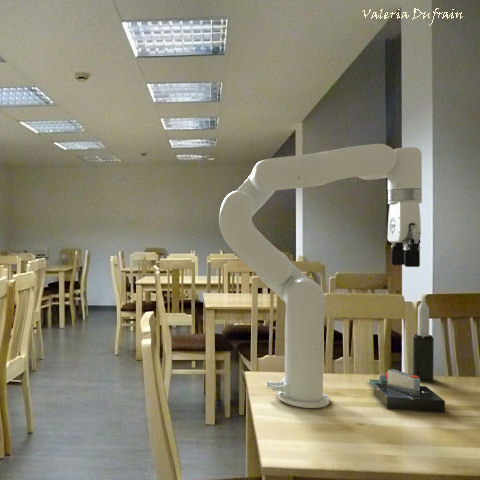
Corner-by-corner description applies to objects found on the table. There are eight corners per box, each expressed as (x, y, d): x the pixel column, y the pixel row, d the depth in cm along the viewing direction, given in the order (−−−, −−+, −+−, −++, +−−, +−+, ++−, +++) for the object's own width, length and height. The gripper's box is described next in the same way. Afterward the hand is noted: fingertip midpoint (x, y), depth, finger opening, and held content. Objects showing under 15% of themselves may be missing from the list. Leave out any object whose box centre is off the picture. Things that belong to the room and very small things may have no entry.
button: (387, 381, 123) (387, 375, 123) (383, 377, 126) (383, 371, 126) (401, 382, 122) (401, 375, 122) (397, 378, 125) (397, 372, 126)
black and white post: (412, 380, 132) (413, 296, 132) (414, 376, 136) (414, 295, 136) (432, 383, 129) (433, 298, 129) (433, 379, 133) (434, 296, 133)
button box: (377, 392, 121) (378, 381, 121) (369, 383, 129) (369, 373, 129) (417, 395, 119) (417, 384, 119) (406, 385, 127) (406, 375, 127)
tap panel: (385, 409, 108) (385, 397, 108) (370, 393, 120) (370, 381, 120) (445, 414, 106) (446, 401, 106) (425, 396, 118) (425, 384, 118)
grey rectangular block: (387, 386, 117) (387, 368, 117) (393, 385, 118) (393, 367, 118) (413, 396, 109) (414, 377, 109) (419, 395, 110) (420, 376, 110)
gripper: (378, 201, 120) (378, 264, 120) (400, 194, 103) (400, 267, 103) (408, 200, 119) (408, 264, 119) (435, 193, 102) (436, 267, 102)
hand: (404, 265), depth 111 cm, fingers open, 9 cm apart
